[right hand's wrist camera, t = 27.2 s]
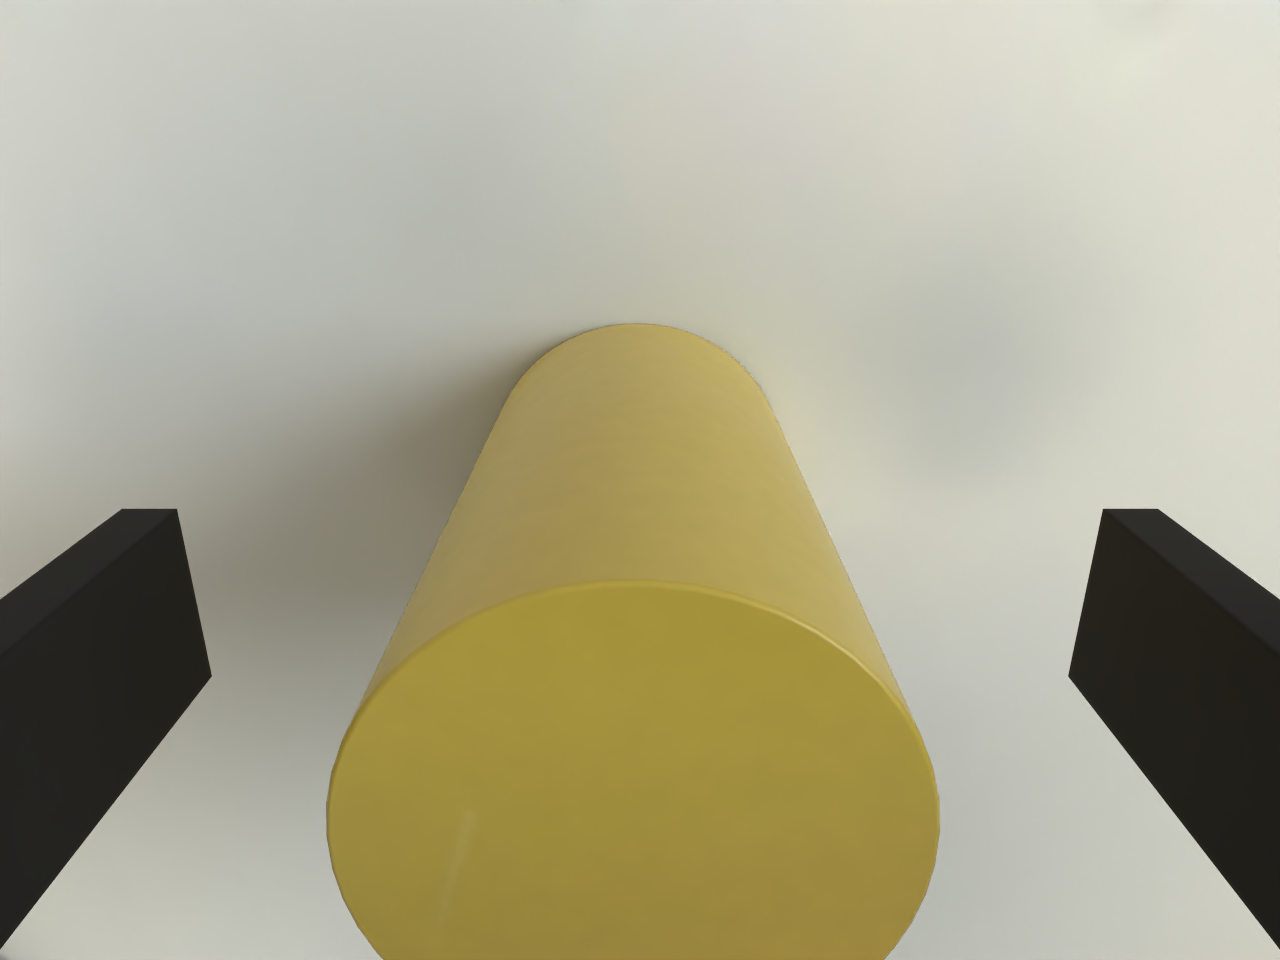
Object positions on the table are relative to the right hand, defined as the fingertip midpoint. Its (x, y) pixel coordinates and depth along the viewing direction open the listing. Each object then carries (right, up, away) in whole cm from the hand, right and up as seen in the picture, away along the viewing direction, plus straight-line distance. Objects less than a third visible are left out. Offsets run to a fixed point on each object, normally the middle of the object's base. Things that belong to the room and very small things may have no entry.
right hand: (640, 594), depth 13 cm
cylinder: (0, +2, +5) cm, 5 cm away
